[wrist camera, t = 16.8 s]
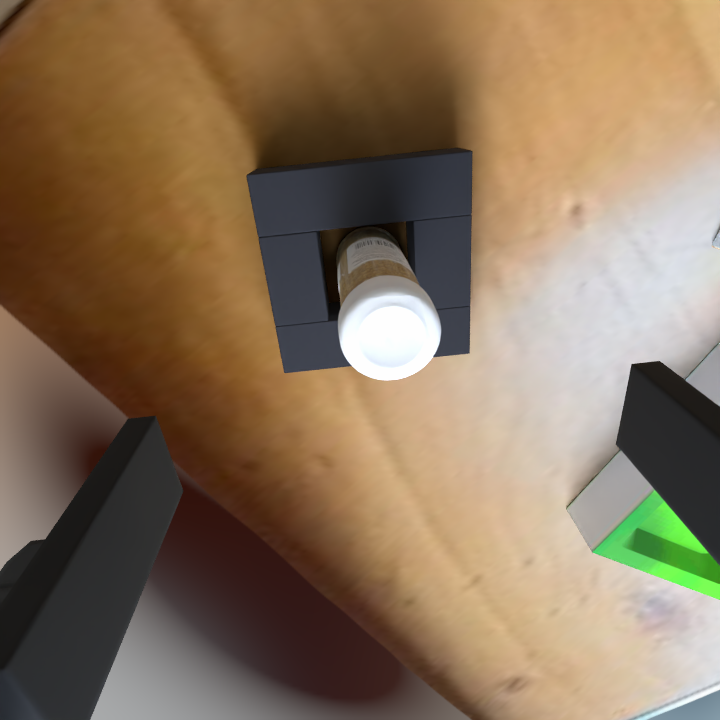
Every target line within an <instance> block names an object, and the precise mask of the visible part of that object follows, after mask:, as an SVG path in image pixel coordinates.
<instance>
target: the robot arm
mask: <svg viewBox="0 0 720 720" xmlns="http://www.w3.org/2000/svg"><path fill="white" fill-rule="evenodd" d="M616 445H617V446H618V447H619V449H620V450H621V451H622V452H623V453H624V454H625V456H626V457H627V458H628V459H629V460H630V461H631V463H632V464H633V465H634V466H635V467H636V468H637V470H638V471H639V472H640V473H641V474H642V475H643V477H644V478H645V479H646V480H647V481H648V483H649V484H650V485H651V486H652V487H653V488H654V490H655V491H656V492H657V493H658V494H659V495H660V497H661V498H662V499H663V500H664V501H665V502H666V504H667V505H668V506H669V507H670V508H671V509H672V511H673V512H674V513H675V514H676V515H677V516H678V518H679V519H680V520H681V521H682V522H683V524H684V525H685V526H686V527H687V528H688V529H689V531H690V532H691V533H692V534H693V535H694V536H695V538H696V539H697V540H698V541H699V542H700V543H701V545H702V546H703V547H704V548H705V549H706V550H707V552H708V553H709V554H710V555H711V556H712V557H713V559H714V560H715V561H716V562H717V563H718V565H719V566H720V406H718V405H717V404H716V403H714V402H713V401H712V400H710V399H709V398H708V397H707V396H705V395H704V394H703V393H701V392H700V391H699V390H697V389H696V388H695V387H693V386H692V385H691V384H689V383H688V382H687V381H685V380H684V379H683V378H681V377H680V376H679V375H677V374H676V373H675V372H673V371H672V370H671V369H669V368H668V367H667V366H666V365H664V364H663V363H662V362H660V361H656V362H647V363H637V364H632V365H631V370H630V375H629V381H628V386H627V391H626V396H625V401H624V406H623V411H622V416H621V421H620V426H619V431H618V436H617V441H616ZM182 493H183V489H182V486H181V483H180V481H179V478H178V475H177V473H176V470H175V467H174V464H173V462H172V459H171V456H170V453H169V451H168V448H167V445H166V443H165V440H164V437H163V434H162V432H161V429H160V426H159V423H158V421H157V418H156V416H150V417H140V418H131V419H128V420H127V421H126V423H125V424H124V426H123V427H122V428H121V430H120V431H119V433H118V434H117V436H116V437H115V439H114V440H113V442H112V443H111V444H110V446H109V448H108V449H107V450H106V452H105V454H104V455H103V456H102V458H101V459H100V460H99V462H98V464H97V465H96V467H95V468H94V469H93V471H92V472H91V474H90V475H89V476H88V478H87V480H86V481H85V482H84V484H83V485H82V487H81V488H80V490H79V491H78V493H77V494H76V495H75V497H74V498H73V500H72V501H71V503H70V504H69V506H68V507H67V509H66V510H65V511H64V513H63V514H62V516H61V517H60V519H59V520H58V522H57V523H56V525H55V526H54V528H53V529H52V530H51V532H50V533H49V535H48V536H47V538H46V539H45V540H36V541H30V542H29V543H28V544H27V545H26V546H25V547H24V548H22V549H21V550H20V551H19V552H18V553H17V554H16V555H14V556H13V557H12V558H11V559H10V560H9V561H7V563H6V564H5V565H4V567H3V568H2V569H1V571H0V720H90V719H91V716H92V714H93V711H94V709H95V706H96V704H97V701H98V699H99V697H100V694H101V692H102V689H103V687H104V684H105V682H106V679H107V677H108V674H109V672H110V670H111V667H112V665H113V662H114V660H115V657H116V655H117V652H118V650H119V647H120V645H121V643H122V640H123V638H124V635H125V633H126V630H127V628H128V625H129V623H130V620H131V618H132V616H133V613H134V611H135V608H136V606H137V603H138V601H139V598H140V596H141V593H142V591H143V588H144V586H145V583H146V581H147V579H148V576H149V574H150V571H151V569H152V566H153V564H154V562H155V559H156V556H157V554H158V552H159V549H160V547H161V544H162V542H163V539H164V536H165V534H166V532H167V530H168V527H169V525H170V522H171V520H172V517H173V515H174V512H175V510H176V508H177V505H178V503H179V500H180V497H181V495H182Z"/></svg>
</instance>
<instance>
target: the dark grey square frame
mask: <svg viewBox="0 0 720 720" xmlns="http://www.w3.org/2000/svg"><path fill="white" fill-rule="evenodd" d="M247 181H248V186H249V192H250V197H251V202H252V207H253V212H254V218H255V223H256V228H257V233H258V237H259V244H260V249H261V254H262V259H263V264H264V269H265V275H266V280H267V285H268V290H269V295H270V301H271V306H272V311H273V316H274V321H275V326H276V332H277V337H278V342H279V348H280V353H281V358H282V363H283V368H284V373H291V372H300V371H309V370H319V369H328V368H337V367H347V366H352V365H351V364H350V363H349V362H348V361H347V359H346V357H345V356H344V354H343V351H342V349H341V346H340V340H339V333H338V317H339V312H340V309H341V304H340V302H333V303H329V298H328V290H327V283H326V275H325V268H324V260H323V253H322V245H321V237H320V230H330V229H339V228H349V227H358V226H367V225H377V224H386V223H395V222H405V221H406V231H407V252H408V264H409V265H410V267H411V269H412V271H413V273H414V275H415V276H416V278H417V281H418V283H419V286H420V287H421V288H422V289H423V290H424V291H425V292H426V293H427V294H428V296H429V297H430V299H431V301H432V303H433V304H434V307H435V309H436V311H437V313H438V316H439V319H440V324H441V337H440V343H439V346H438V348H437V351H436V352H435V354H434V356H433V357H440V356H449V355H459V354H468V353H469V351H470V285H471V219H472V215H471V213H472V151H470V150H466V149H461V148H450V149H440V150H431V151H421V152H412V153H403V154H393V155H384V156H374V157H365V158H356V159H346V160H337V161H327V162H318V163H309V164H299V165H290V166H280V167H271V168H261V169H256V170H254V171H252V172H251V173H249V174H247Z"/></svg>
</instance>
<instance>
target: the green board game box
mask: <svg viewBox="0 0 720 720" xmlns="http://www.w3.org/2000/svg"><path fill="white" fill-rule="evenodd" d="M685 381H687V382H688V383H689V384H691V385H692V386H693V387H695V388H696V389H697V390H699V391H700V392H701V393H703V394H704V395H705V396H707V397H708V398H709V399H710V400H712V401H713V402H714V403H716V404H717V405H718V406H720V343H719V344H718V345H717V346H716V347H715V348H714V349H713V350H712V351H711V352H710V354H709V355H708V356H707V357H706V358H705V359H704V360H703V361H702V362H701V363H700V364H699V365H698V367H697V368H696V369H695V370H694V371H693V372H692V373H691V374H690V375H689V376H688V377H687V378H686V380H685ZM567 511H568V513H569V514H570V516H571V518H572V519H573V521H574V523H575V524H576V526H577V528H578V529H579V531H580V533H581V534H582V536H583V538H584V539H585V541H586V543H587V544H588V546H589V547H590V549H591V551H592V552H593V553H595V554H598V555H601V556H604V557H606V558H609V559H612V560H614V561H617V562H620V563H622V564H625V565H628V566H630V567H633V568H636V569H638V570H641V571H644V572H647V573H649V574H652V575H655V576H657V577H660V578H663V579H665V580H668V581H671V582H673V583H676V584H679V585H681V586H684V587H687V588H690V589H692V590H695V591H698V592H700V593H703V594H706V595H708V596H711V597H714V598H716V599H719V600H720V566H719V565H718V563H717V562H716V561H715V560H714V559H713V557H712V556H711V555H710V554H709V553H708V552H707V550H706V549H705V548H704V547H703V546H702V545H701V543H700V542H699V541H698V540H697V539H696V538H695V536H694V535H693V534H692V533H691V532H690V531H689V529H688V528H687V527H686V526H685V525H684V524H683V522H682V521H681V520H680V519H679V518H678V516H677V515H676V514H675V513H674V512H673V511H672V509H671V508H670V507H669V506H668V505H667V504H666V502H665V501H664V500H663V499H662V498H661V497H660V495H659V494H658V493H657V492H656V491H655V490H654V488H653V487H652V486H651V485H650V484H649V483H648V481H647V480H646V479H645V478H644V477H643V475H642V474H641V473H640V472H639V471H638V470H637V468H636V467H635V466H634V465H633V464H632V463H631V461H630V460H629V459H628V458H627V457H626V456H625V454H624V453H623V452H622V451H621V450H620V451H619V452H618V453H617V454H616V455H615V457H614V458H613V459H612V460H611V461H610V462H609V463H608V464H607V465H606V466H605V467H604V468H603V470H602V471H601V472H600V473H599V474H598V475H597V476H596V477H595V478H594V479H593V480H592V481H591V483H590V484H589V485H588V486H587V487H586V488H585V489H584V490H583V491H582V492H581V493H580V494H579V496H578V497H577V498H576V499H575V500H574V501H573V502H572V503H571V504H570V505H569V506H568V507H567Z"/></svg>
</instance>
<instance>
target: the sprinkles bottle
mask: <svg viewBox="0 0 720 720" xmlns="http://www.w3.org/2000/svg"><path fill="white" fill-rule="evenodd" d="M336 257H337V260H336V261H337V269H338V289H339V294H340V304H341V309H340V312H339V317H338V333H339V340H340V346H341V349H342V351H343V354H344V356H345V357H346V359H347V361H348V362H349V363H350V364H351V365H352V366H353V367H354V368H355V369H356V370H357V371H359V372H360V373H362V374H364V375H366V376H368V377H371V378H374V379H380V380H396V379H401V378H405V377H408V376H410V375H412V374H414V373H416V372H418V371H419V370H420V369H422V368H423V367H424V366H425V365H426V364H427V363H428V362H429V361H430V360H431V359H432V357H433V356H434V354H435V352H436V351H437V348H438V346H439V343H440V337H441V324H440V319H439V316H438V313H437V311H436V309H435V307H434V304H433V303H432V301H431V299H430V297H429V296H428V294H427V293H426V292H425V291H424V290H423V289H422V288H421V287H420V286H419V283H418V281H417V278H416V276H415V275H414V273H413V271H412V269H411V267H410V265H409V264H408V262H407V260H406V258H405V256H404V255H403V253H402V252H401V249H400V247H399V245H398V242H397V241H396V239H395V238H394V237H393V236H392V235H391V234H390V233H389V232H387V231H386V230H384V229H380V228H378V227H372V226H366V227H361V228H358V229H356V230H354V231H352V232H351V233H349V234H348V235H347V236H346V237H345V238H344V239H343V240H342V242H341V243H340V245H339V248H338V251H337V255H336Z"/></svg>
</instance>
